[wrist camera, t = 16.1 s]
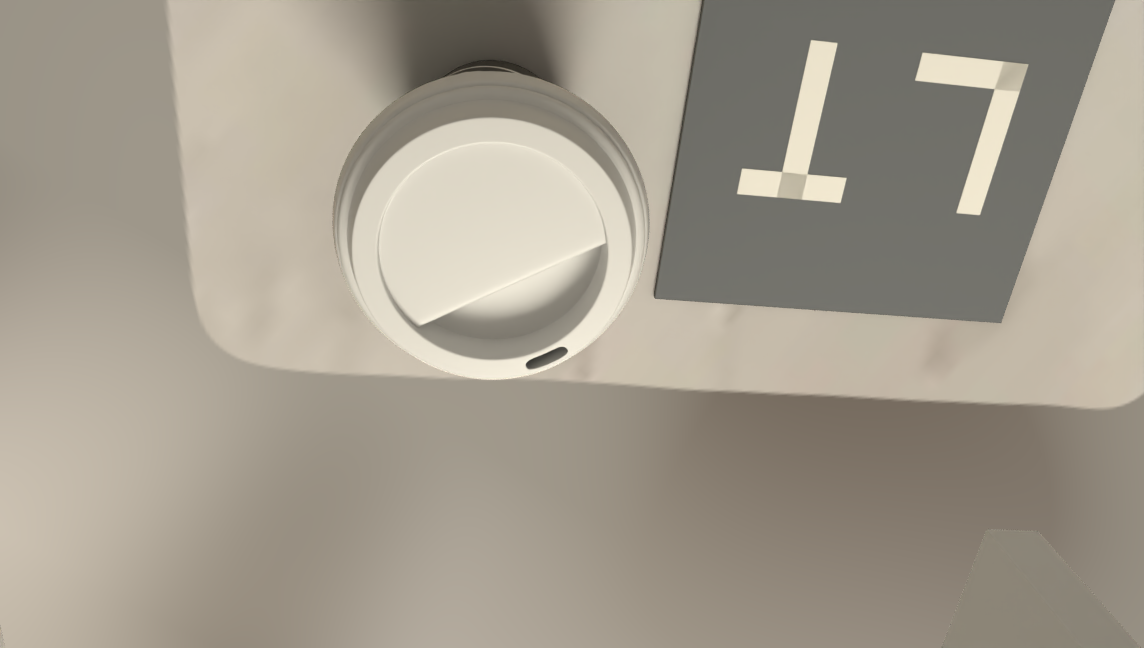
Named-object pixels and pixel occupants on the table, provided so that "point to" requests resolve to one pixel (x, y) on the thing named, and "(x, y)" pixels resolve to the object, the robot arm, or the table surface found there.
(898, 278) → the mat
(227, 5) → the table surface
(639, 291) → the table surface
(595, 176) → the coffee cup
